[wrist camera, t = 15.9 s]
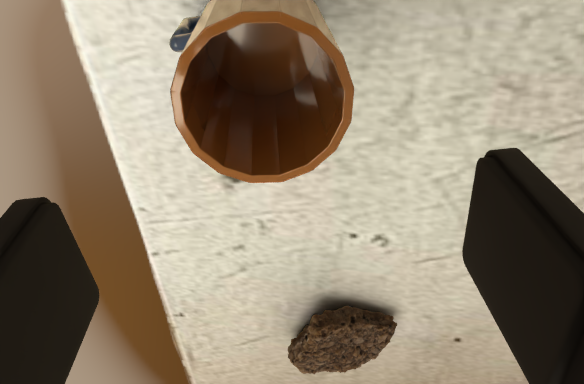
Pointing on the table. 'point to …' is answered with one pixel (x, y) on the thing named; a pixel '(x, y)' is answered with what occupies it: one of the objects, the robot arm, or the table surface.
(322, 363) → the concrete sample
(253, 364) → the table surface
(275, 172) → the glass
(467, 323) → the table surface
